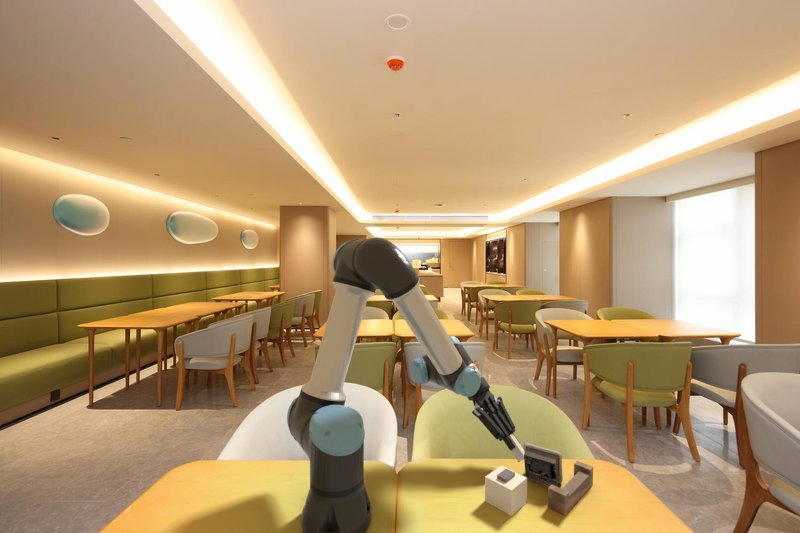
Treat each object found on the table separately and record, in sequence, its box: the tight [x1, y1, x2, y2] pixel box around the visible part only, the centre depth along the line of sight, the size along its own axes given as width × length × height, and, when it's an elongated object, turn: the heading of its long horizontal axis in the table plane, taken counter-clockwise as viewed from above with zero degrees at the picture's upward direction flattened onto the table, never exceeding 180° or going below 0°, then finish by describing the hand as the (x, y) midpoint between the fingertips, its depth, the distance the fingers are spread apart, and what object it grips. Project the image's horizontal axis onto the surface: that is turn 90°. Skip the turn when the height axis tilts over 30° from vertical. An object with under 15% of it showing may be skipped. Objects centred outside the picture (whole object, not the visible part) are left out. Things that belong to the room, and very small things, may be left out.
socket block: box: [484, 465, 528, 517], centre depth 88 cm, size 7×7×7 cm
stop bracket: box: [547, 460, 594, 516], centre depth 90 cm, size 4×17×4 cm, turn 133°
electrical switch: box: [523, 442, 564, 487], centre depth 95 cm, size 9×5×9 cm, turn 56°
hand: (523, 459), depth 100 cm, fingers closed
